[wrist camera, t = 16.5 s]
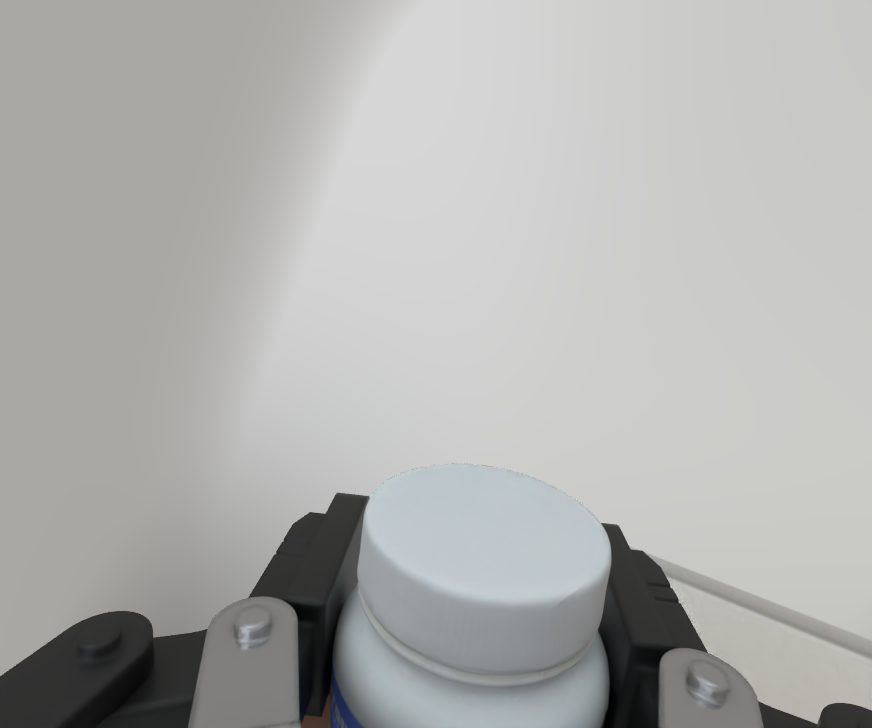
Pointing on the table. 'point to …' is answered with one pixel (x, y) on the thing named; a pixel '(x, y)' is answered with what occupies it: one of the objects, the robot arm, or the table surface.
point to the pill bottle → (473, 607)
